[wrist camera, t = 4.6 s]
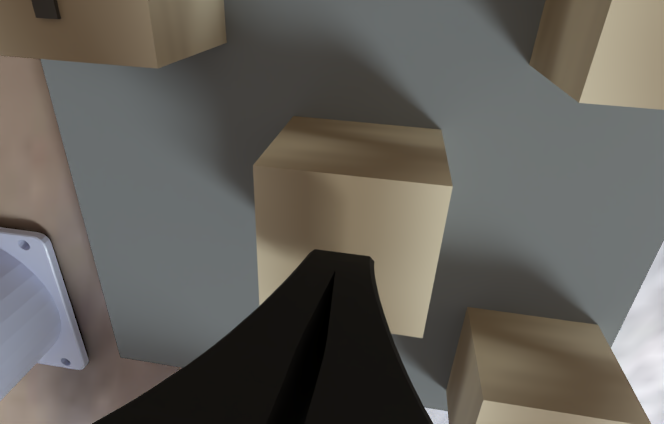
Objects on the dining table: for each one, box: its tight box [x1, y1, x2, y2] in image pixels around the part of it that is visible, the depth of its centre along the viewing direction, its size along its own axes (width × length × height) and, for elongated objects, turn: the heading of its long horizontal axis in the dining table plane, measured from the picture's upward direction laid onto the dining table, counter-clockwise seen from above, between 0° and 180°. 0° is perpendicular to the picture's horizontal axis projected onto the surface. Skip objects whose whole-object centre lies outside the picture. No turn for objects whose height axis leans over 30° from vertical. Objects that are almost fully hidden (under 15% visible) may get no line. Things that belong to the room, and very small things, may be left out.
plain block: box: [253, 116, 453, 338], centre depth 13 cm, size 4×4×4 cm
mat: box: [41, 0, 664, 411], centre depth 15 cm, size 20×20×1 cm
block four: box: [446, 307, 651, 424], centre depth 15 cm, size 4×4×4 cm
